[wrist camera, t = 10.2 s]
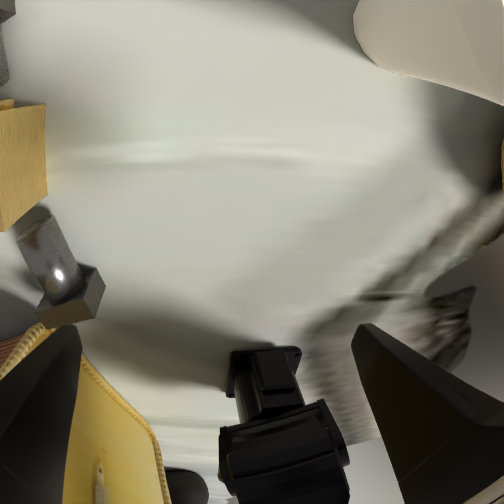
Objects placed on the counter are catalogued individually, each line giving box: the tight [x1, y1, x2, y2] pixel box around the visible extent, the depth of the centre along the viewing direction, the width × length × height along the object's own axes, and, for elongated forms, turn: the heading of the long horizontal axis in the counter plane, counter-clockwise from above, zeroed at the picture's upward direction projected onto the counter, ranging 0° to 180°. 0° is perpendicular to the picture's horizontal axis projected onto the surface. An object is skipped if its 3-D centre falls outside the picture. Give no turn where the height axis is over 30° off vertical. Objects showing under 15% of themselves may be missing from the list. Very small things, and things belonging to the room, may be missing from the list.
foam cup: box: [353, 0, 504, 106], centre depth 10 cm, size 10×9×13 cm
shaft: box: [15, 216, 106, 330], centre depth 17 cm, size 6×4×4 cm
